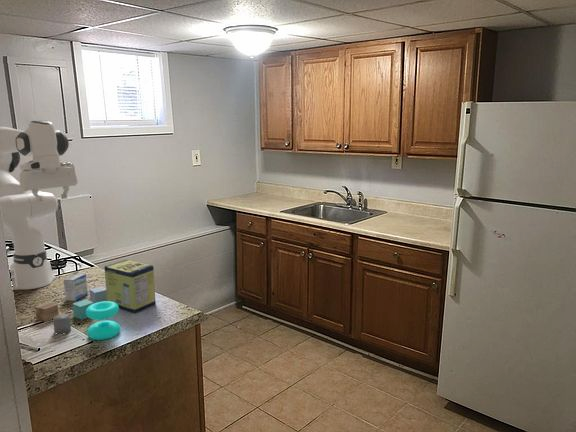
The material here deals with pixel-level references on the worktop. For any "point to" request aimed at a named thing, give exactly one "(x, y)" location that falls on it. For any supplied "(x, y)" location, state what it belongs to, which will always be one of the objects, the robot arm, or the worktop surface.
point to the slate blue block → (98, 294)
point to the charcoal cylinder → (62, 323)
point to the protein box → (130, 285)
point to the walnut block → (46, 311)
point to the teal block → (81, 309)
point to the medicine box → (75, 287)
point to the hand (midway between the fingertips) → (52, 200)
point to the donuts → (103, 327)
